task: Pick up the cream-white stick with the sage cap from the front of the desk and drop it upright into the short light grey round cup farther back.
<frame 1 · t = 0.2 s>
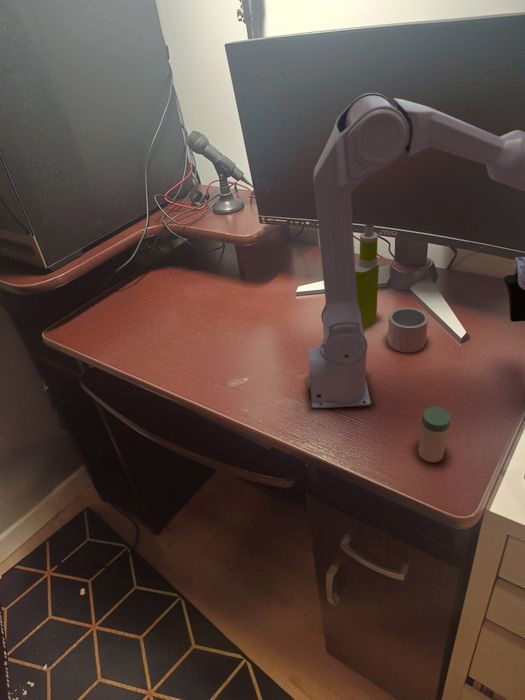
vape: (363, 321, 94), on the table
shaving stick: (430, 453, 66), on the table
light grey round cup: (406, 341, 87), on the table
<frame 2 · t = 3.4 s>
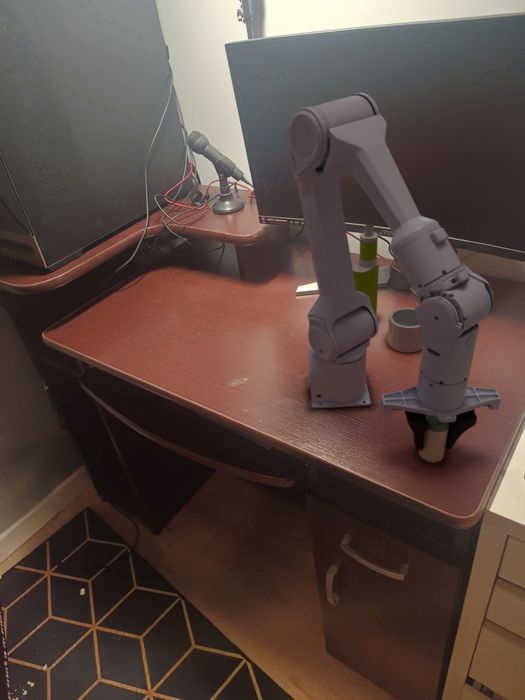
hand: (432, 444, 65), 2 cm above the table, tool pointing down, fingers closed on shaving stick, 3 cm apart
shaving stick: (430, 453, 66), on the table, touching gripper
everything else where it was.
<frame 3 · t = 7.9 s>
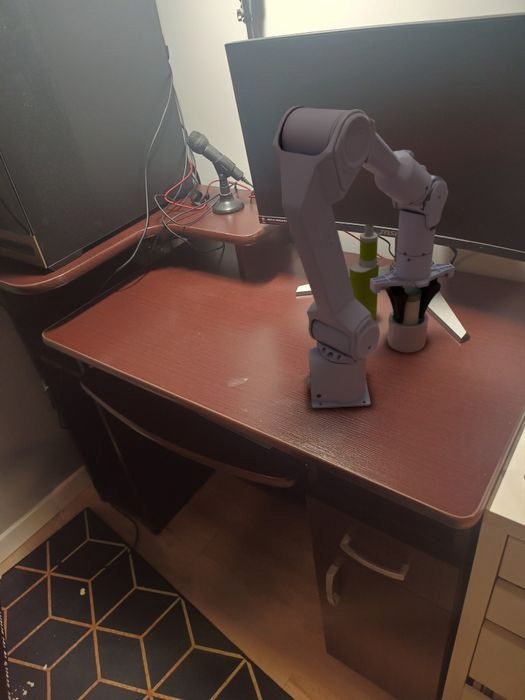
hand: (408, 318, 84), 5 cm above the table, tool pointing down, fingers closed on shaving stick, 3 cm apart
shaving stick: (407, 326, 85), point 4 cm above the table, touching gripper
everything else where it was.
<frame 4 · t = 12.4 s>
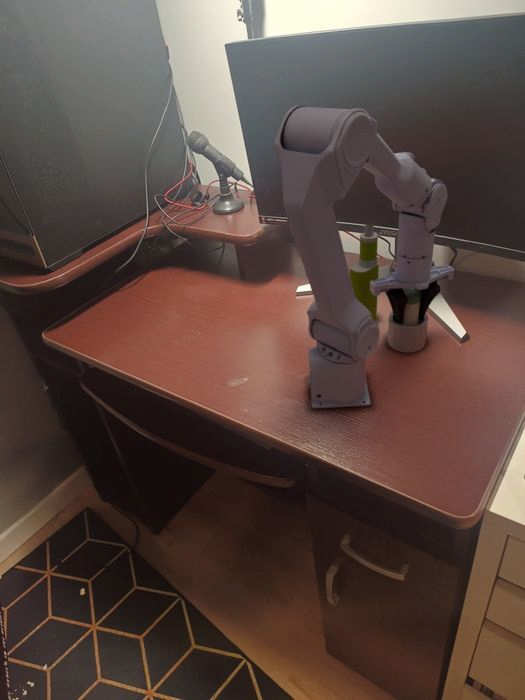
hand: (408, 320, 84), 5 cm above the table, tool pointing down, fingers closed on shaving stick, 3 cm apart
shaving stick: (407, 328, 85), point 3 cm above the table, touching gripper
everything else where it was.
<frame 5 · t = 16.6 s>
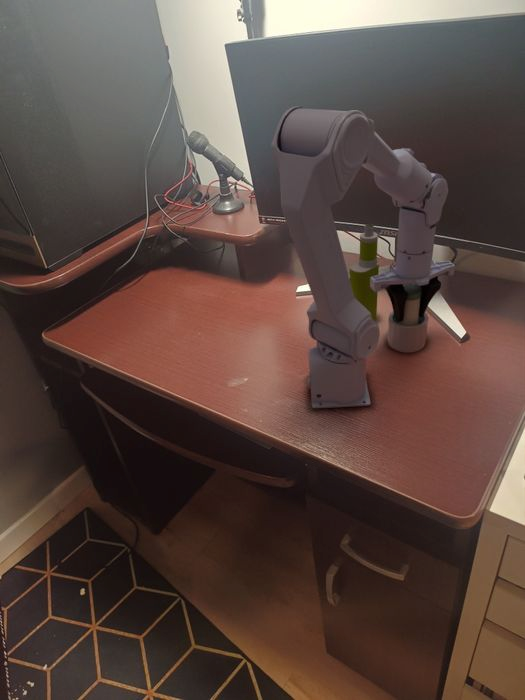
hand: (408, 316, 84), 6 cm above the table, tool pointing down, fingers closed on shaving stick, 3 cm apart
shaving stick: (407, 324, 85), point 4 cm above the table, touching gripper
everything else where it was.
when the fingers open (8 cm above the table, at t = 20.3 s): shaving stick drops 5 cm, resting on light grey round cup.
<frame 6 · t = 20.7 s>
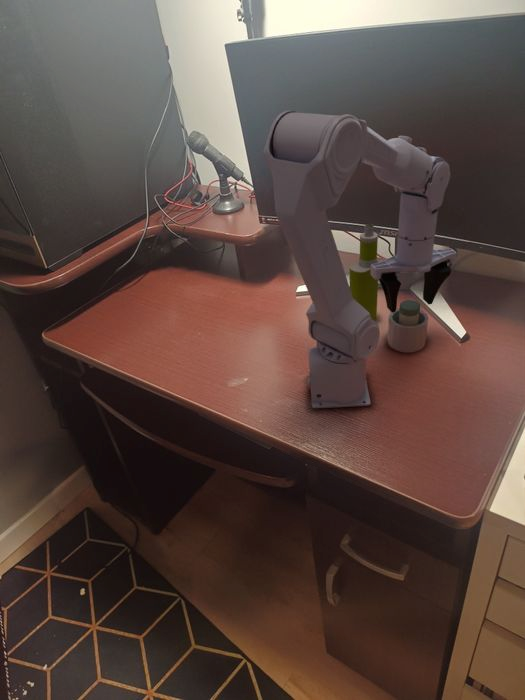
hand: (409, 305, 83), 8 cm above the table, tool pointing down, fingers open, 6 cm apart
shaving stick: (406, 339, 87), point 1 cm above the table, touching light grey round cup
everything else where it was.
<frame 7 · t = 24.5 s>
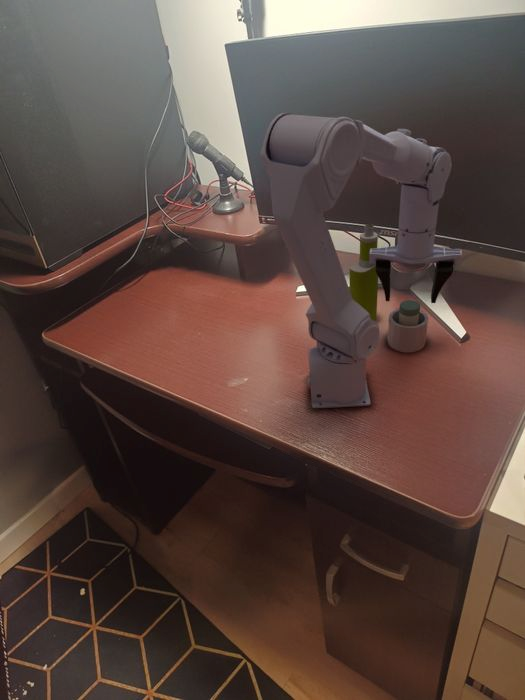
hand: (410, 299, 82), 9 cm above the table, tool pointing down, fingers open, 7 cm apart
nothing on the table moved.
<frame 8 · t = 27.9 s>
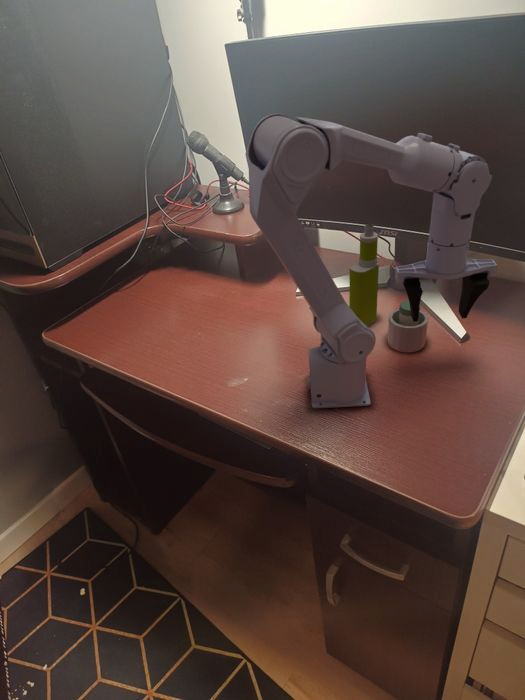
hand: (438, 316, 76), 10 cm above the table, tool pointing down, fingers open, 7 cm apart
nothing on the table moved.
at the end: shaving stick 0.1 cm off-centre in the light grey round cup, point 0.6 cm above the light grey round cup's base; the gripper is holding nothing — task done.
